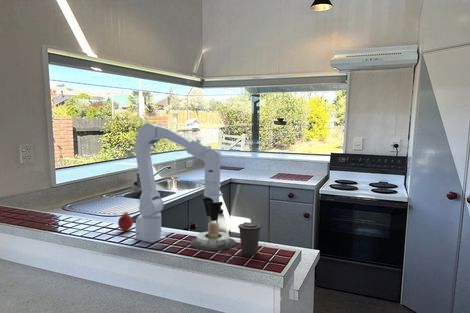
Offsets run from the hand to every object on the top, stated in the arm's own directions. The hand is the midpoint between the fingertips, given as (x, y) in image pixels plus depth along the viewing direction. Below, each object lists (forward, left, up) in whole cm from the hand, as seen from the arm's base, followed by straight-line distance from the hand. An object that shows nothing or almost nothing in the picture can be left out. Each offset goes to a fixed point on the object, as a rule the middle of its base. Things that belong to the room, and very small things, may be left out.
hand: (211, 218), depth 124 cm
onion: (-38, -6, -10) cm, 40 cm away
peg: (+1, 0, -9) cm, 9 cm away
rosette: (+1, 0, -9) cm, 9 cm away
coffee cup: (+17, -2, -10) cm, 19 cm away
